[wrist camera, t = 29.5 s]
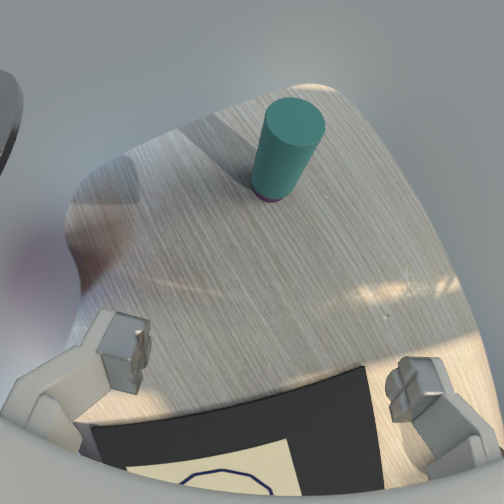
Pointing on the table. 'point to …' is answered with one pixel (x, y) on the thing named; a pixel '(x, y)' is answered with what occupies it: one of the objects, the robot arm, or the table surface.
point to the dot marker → (285, 147)
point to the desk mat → (262, 443)
